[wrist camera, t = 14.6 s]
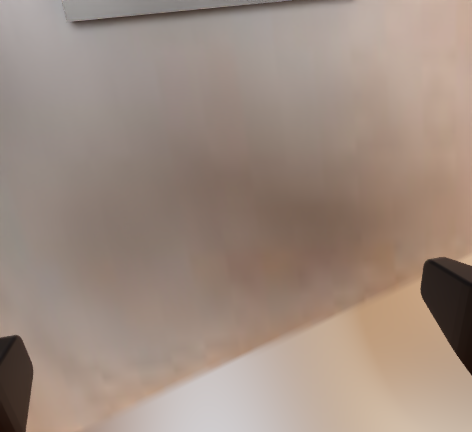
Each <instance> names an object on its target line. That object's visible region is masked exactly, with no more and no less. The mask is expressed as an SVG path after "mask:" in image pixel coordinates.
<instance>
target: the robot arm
mask: <svg viewBox="0 0 472 432" xmlns="http://www.w3.org/2000/svg"><path fill="white" fill-rule="evenodd" d="M421 295H422V298H423V300H424V302H425V303H426V305H427V307H428V308H429V310H430V312H431V313H432V315H433V317H434V318H435V320H436V322H437V323H438V325H439V327H440V328H441V330H442V332H443V333H444V335H445V337H446V338H447V340H448V342H449V343H450V345H451V347H452V348H453V350H454V351H455V353H456V354H457V356H458V357H459V359H460V360H461V361H462V363H463V364H464V365H465V367H466V368H467V370H468V371H469V372H470V374H471V375H472V266H470V265H467V264H464V263H461V262H458V261H455V260H452V259H449V258H446V257H439V258H433V259H428V260H427V261H426V262H425V263H424V267H423V274H422V281H421ZM32 380H33V366H32V362H31V360H30V357H29V355H28V353H27V350H26V348H25V345H24V343H23V340H22V339H21V337H20V336H18V335H12V336H7V337H1V338H0V432H25V431H26V424H27V417H28V409H29V402H30V395H31V387H32Z"/></svg>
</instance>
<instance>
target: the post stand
mask: <svg viewBox="0 0 472 432" xmlns="http://www.w3.org/2000/svg"><path fill="white" fill-rule="evenodd" d="M280 1H290V0H62V4H63V8H64V12H65V16H66V20H67V22H72V21H83V20H93V19H103V18H114V17H124V16H134V15H145V14H155V13H166V12H176V11H186V10H197V9H207V8H217V7H228V6H238V5H248V4H259V3H269V2H280Z"/></svg>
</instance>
